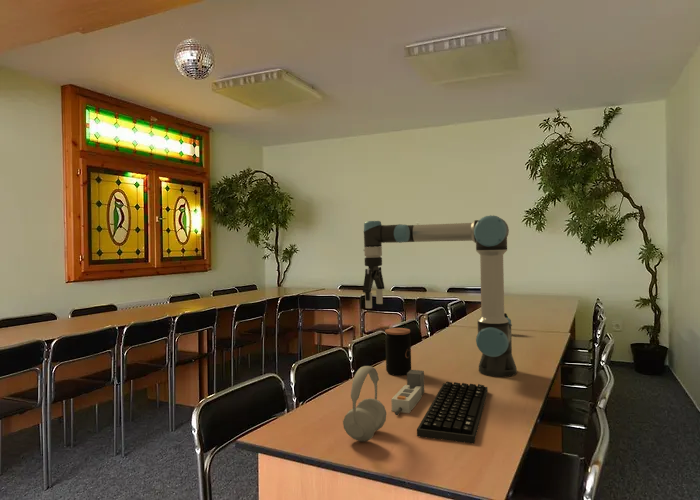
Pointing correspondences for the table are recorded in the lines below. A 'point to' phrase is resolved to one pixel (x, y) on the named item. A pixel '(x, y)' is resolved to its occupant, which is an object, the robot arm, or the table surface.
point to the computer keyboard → (454, 413)
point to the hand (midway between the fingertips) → (374, 306)
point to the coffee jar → (398, 351)
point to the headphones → (364, 409)
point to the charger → (416, 379)
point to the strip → (406, 399)
